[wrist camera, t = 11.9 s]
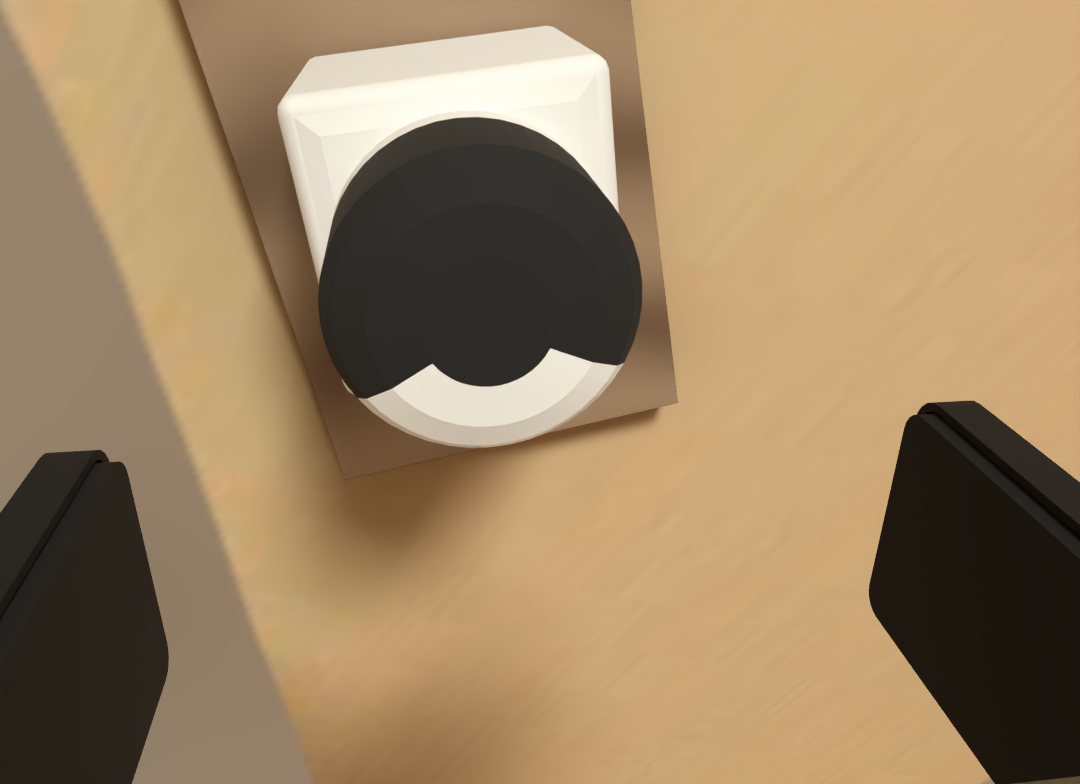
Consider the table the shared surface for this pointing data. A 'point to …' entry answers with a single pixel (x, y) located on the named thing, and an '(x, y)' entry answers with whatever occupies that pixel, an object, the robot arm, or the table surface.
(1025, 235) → the table surface
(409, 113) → the medicine bottle
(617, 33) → the walnut board
